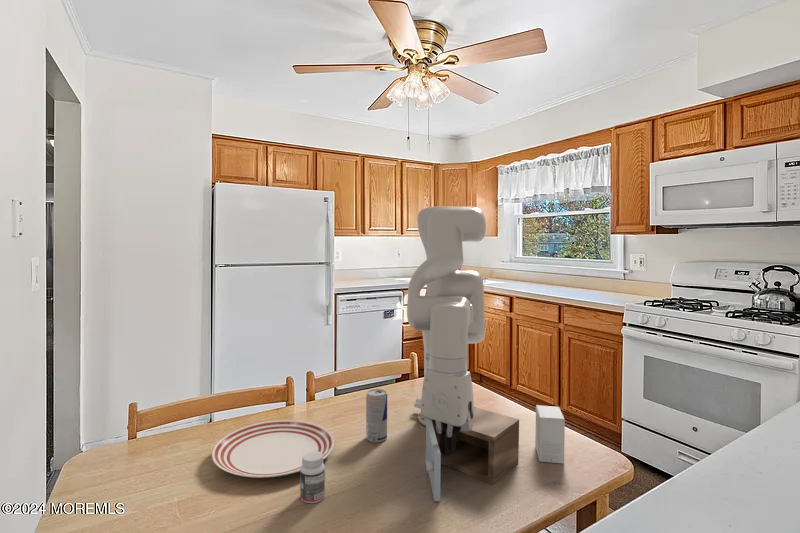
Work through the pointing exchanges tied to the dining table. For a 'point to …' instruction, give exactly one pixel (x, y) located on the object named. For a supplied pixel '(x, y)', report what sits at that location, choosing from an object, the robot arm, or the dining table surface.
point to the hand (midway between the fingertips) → (447, 452)
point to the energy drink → (376, 415)
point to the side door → (433, 460)
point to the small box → (550, 434)
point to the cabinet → (485, 446)
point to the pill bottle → (312, 477)
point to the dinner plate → (270, 448)
